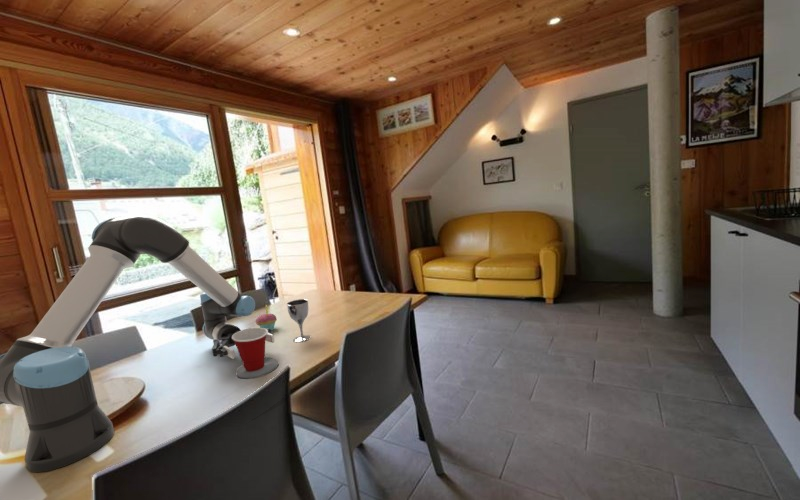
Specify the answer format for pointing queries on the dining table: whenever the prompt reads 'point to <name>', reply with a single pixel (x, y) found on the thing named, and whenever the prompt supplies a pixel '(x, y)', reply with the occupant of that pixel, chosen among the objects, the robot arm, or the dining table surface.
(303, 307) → the wine glass
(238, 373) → the coaster
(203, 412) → the dining table surface
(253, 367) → the plastic cup
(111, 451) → the dining table surface
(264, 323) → the cupcake
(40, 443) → the robot arm
